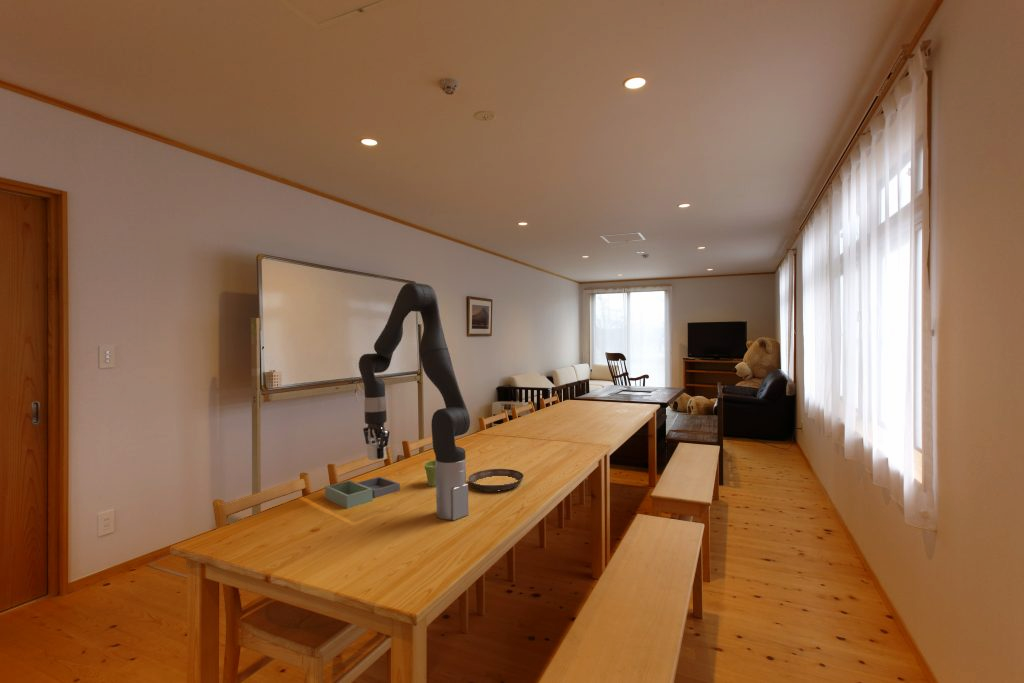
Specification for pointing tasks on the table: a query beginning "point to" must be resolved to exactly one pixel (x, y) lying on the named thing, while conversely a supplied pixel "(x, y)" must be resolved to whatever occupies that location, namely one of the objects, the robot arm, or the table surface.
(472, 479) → the plant saucer
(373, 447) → the pale pink block
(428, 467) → the plant pot
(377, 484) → the charcoal tub
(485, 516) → the table surface
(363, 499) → the sage green bin
